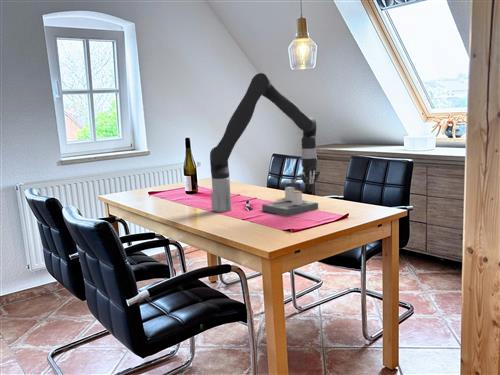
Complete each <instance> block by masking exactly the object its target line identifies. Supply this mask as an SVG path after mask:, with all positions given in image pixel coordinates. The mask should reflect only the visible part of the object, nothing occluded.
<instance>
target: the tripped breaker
mask: <svg viewBox="0 0 500 375" xmlns="http://www.w3.org/2000/svg"><path fill="white" fill-rule="evenodd" d="M302 200H303V191H302V190H300V191H297V190H296V191H292V204H294V205H302Z"/></svg>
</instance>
